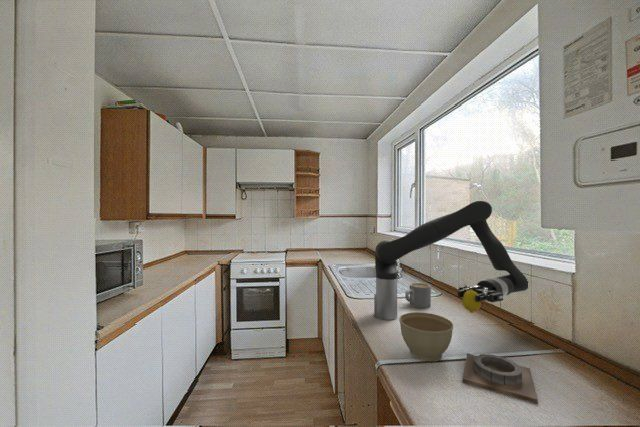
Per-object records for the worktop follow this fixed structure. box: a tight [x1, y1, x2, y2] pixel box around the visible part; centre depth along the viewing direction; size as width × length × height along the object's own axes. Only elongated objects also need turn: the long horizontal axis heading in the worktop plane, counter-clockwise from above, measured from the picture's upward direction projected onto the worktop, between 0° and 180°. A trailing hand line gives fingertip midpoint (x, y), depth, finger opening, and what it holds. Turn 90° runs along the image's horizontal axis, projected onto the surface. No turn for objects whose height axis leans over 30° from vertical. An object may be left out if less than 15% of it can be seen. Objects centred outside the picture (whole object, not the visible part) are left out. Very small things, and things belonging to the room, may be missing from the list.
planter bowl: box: [399, 311, 454, 362], centre depth 89 cm, size 16×16×11 cm
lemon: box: [462, 290, 482, 314], centre depth 95 cm, size 6×6×8 cm
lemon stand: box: [462, 353, 539, 404], centre depth 77 cm, size 16×16×4 cm
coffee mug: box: [404, 282, 432, 309], centre depth 139 cm, size 13×10×10 cm
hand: (467, 296), depth 94 cm, fingers closed on lemon, 5 cm apart
